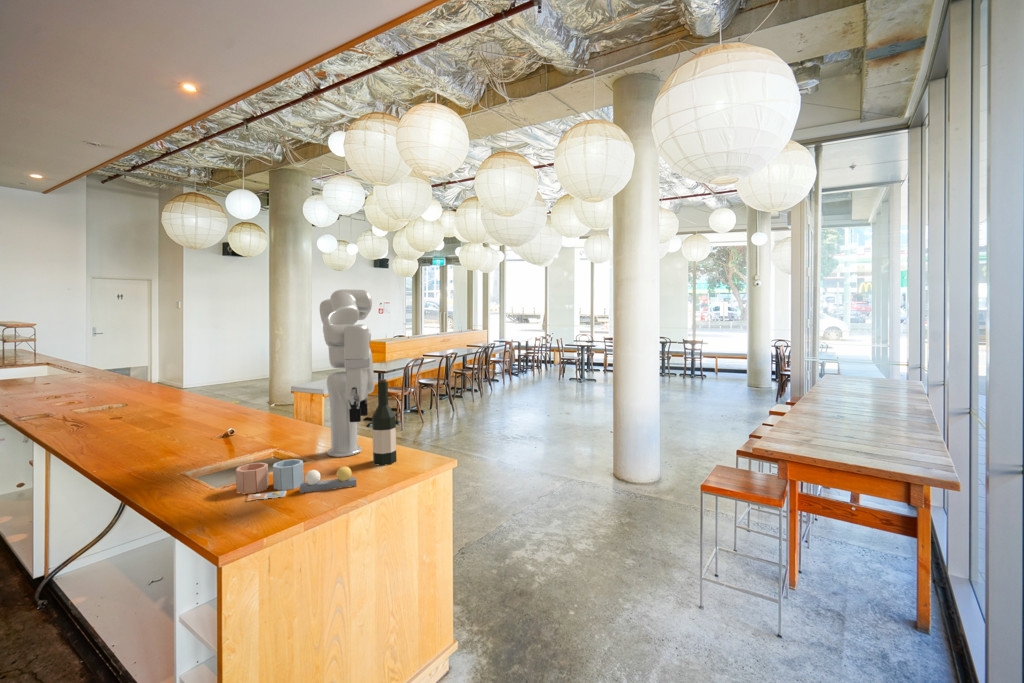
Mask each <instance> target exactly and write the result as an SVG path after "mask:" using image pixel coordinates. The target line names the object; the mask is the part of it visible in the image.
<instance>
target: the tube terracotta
mask: <svg viewBox="0 0 1024 683" xmlns="http://www.w3.org/2000/svg"><path fill="white" fill-rule="evenodd" d="M235 482H236V483H235V484H236V485H235V489H236V493H237V492H240V493H245V494H246V493H256V492H259V493H261V492H260V491H262V492H264V491H263V490H265V491H267V490H268V489H267V488H269V487H270V484H269V482H270V481H269V463H265V462H251V463H247V464H246V463H245V464H243V465H239V466H238V467H237V468H236V469H235ZM268 486H269V487H268ZM266 489H267V490H266ZM256 494H257V493H256Z"/></svg>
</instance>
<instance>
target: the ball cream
mask: <svg viewBox="0 0 1024 683" xmlns="http://www.w3.org/2000/svg"><path fill="white" fill-rule="evenodd" d="M304 480H305V481H304V482H305V483H307V484H309V485H315V484H317V483H318V482H319V481H321V473H320V472H319V471H318V470H316V469H312V470H311V469H310V470H309V471H307V472H306V474H305V475H304Z"/></svg>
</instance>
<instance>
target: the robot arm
mask: <svg viewBox="0 0 1024 683" xmlns="http://www.w3.org/2000/svg"><path fill="white" fill-rule="evenodd" d="M372 306H373V300H372V296H371V294H370V293H369V291H367V290H364V289H338V290H335V291H334V292H332V294H330V298H327V299H324V300H322V301H321V302H320V304H319V315H320V319H321V320H320V321H321V322H322V333H323V337H324V339H323V340H324V341H325V344H326V346H327V347H328V359H329V363H330V366H331V367H332V368H333V369H343V370H345V371H343V370H342V371H336V372H335V371H334V372H332V373H330V374H329V375H328V376H327V379H326V386H327V393H328V399H329V409H330V410H329V412H330V413H329V414H330V436H331V437H330V440H331V441H330V442H331V445H330V448H329V449H327V450H326V453H327V455H328V456H330V457H335V458H340V457H342V458H343V457H350V456H355V455H357V453H358V454H360V453H361V452H362V446H360V445H358V427H357V426H358V423H360V422H362V418H361V417H367V416H368V415H369V414H368V413H369V412H368V411H369V410H368V397H369V396H368V395H369V394H372V393H373V392H374V390H375V386H376V385H375V373H374V372H375V371H374V362H373V354H372V350H371V347H370V342H371V340H372V339H371V338H372V334H371V329H369V327H368V326H367V325H366V324H359V323H358V324H356V323H357V322H358V321H364V320H365V319H366V318H367V317H368V315H369V314H370V312H371V310H372ZM359 452H360V453H359ZM354 454H355V455H354Z"/></svg>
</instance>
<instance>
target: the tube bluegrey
mask: <svg viewBox="0 0 1024 683" xmlns="http://www.w3.org/2000/svg"><path fill="white" fill-rule="evenodd" d="M272 480H273V489H274V490H276V489H277V491H284V490H285V491H287V490H294V489H297V488H300V484H301V483H305V481H304V480H305V476H304V460H302V459H299V458H298V459H297V458H296V459H295V458H294V459H293V458H292V459H283V460H280V461H278V462H274V464H273V465H272Z"/></svg>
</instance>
